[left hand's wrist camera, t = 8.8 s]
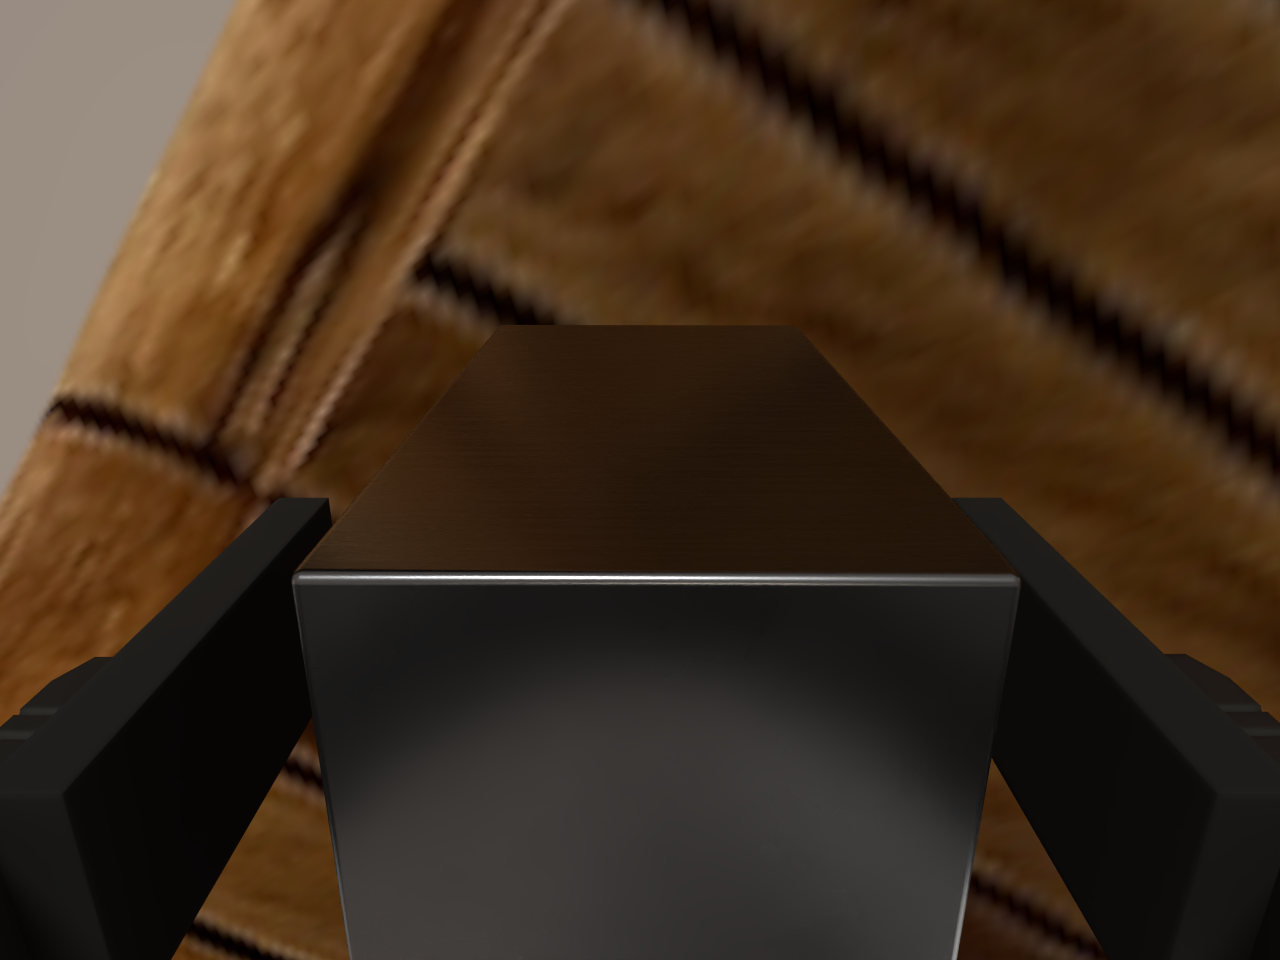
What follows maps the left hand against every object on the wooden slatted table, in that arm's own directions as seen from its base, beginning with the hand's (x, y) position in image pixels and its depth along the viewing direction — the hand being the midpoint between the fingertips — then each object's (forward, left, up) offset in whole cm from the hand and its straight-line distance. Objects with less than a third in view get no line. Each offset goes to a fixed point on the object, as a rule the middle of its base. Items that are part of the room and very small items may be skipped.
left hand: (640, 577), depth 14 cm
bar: (-5, +8, -2) cm, 9 cm away
